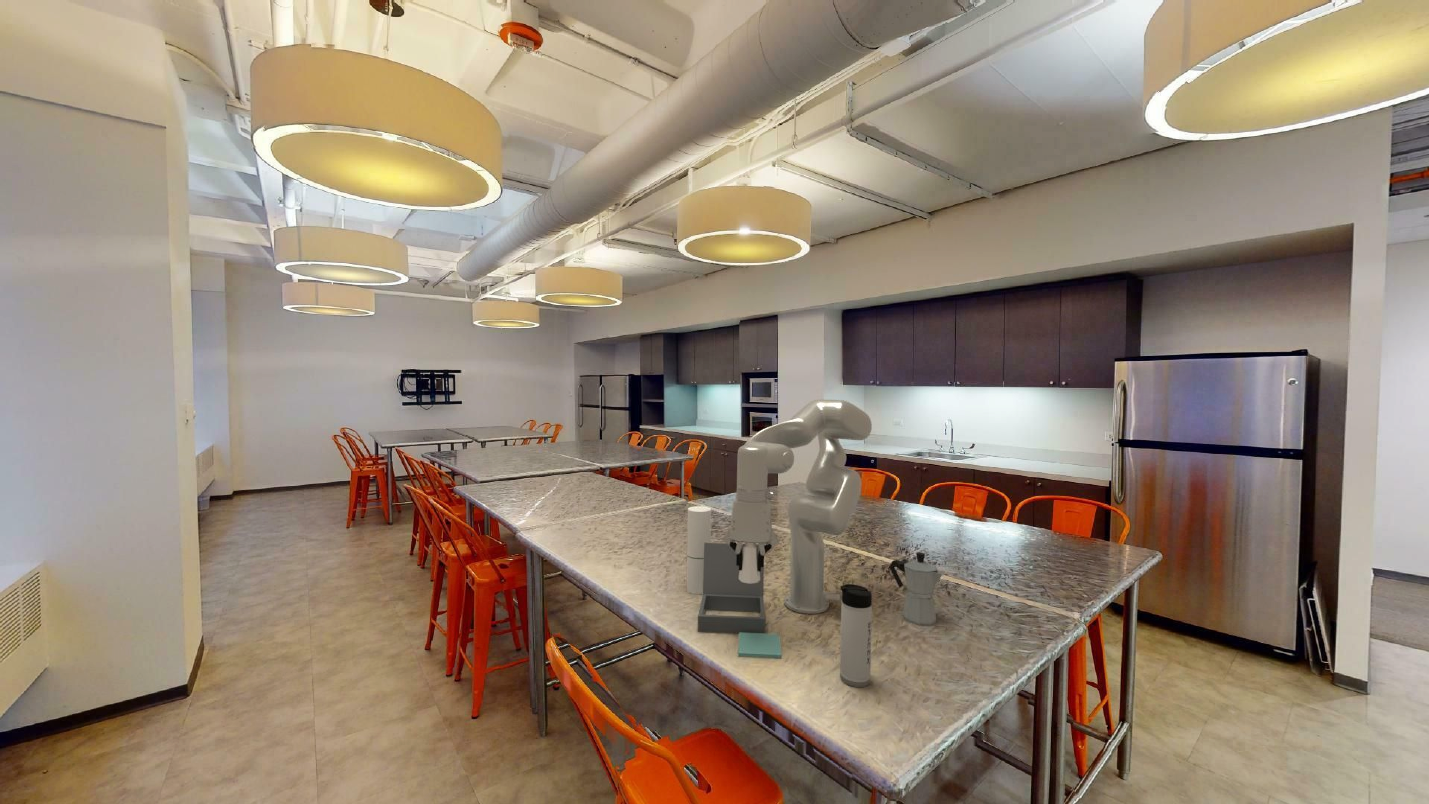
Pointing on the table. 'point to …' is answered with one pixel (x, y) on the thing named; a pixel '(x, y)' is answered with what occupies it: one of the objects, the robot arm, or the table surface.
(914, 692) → the table surface
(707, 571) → the lid
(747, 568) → the salt shaker
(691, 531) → the cylindrical container
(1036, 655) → the table surface
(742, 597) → the case
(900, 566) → the coffee maker
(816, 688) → the table surface
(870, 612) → the travel mug
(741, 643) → the pad
